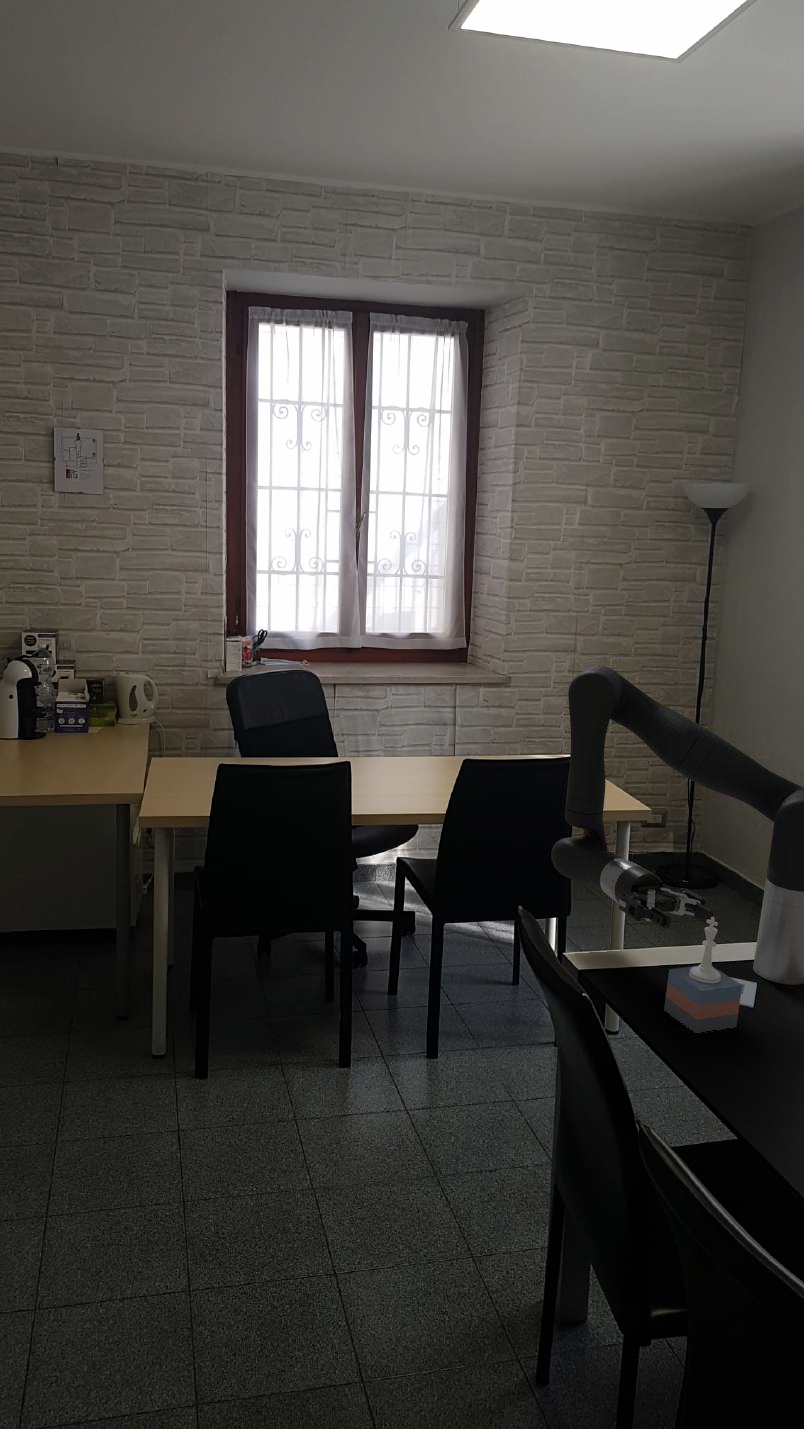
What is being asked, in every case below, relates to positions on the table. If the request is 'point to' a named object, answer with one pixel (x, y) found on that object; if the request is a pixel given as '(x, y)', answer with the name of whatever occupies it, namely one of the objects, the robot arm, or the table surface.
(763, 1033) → the table surface
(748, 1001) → the picture card
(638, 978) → the table surface
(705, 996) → the brick tower
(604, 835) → the robot arm
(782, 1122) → the table surface
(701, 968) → the chess piece
